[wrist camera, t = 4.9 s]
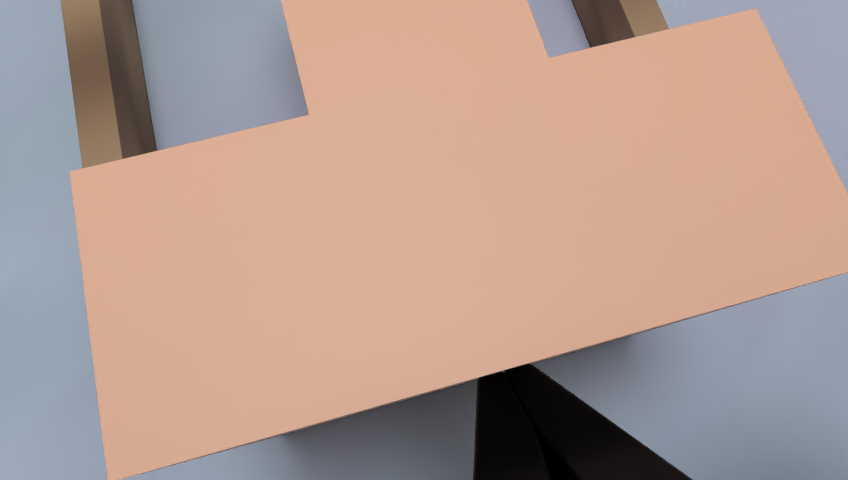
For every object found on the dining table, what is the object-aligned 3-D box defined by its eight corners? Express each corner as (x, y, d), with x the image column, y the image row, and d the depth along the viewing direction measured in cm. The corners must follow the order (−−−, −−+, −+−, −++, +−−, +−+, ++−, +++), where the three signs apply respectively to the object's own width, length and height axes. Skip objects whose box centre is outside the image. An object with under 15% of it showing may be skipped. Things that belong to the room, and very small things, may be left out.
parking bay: (705, 246, 17) (753, 220, 15) (158, 395, 16) (112, 395, 13) (534, -166, 21) (550, -239, 19) (87, -75, 20) (42, -142, 17)
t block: (631, 335, 16) (881, 262, 8) (280, 435, 15) (107, 482, 7) (503, -15, 19) (576, -356, 11) (204, 52, 18) (16, -258, 10)
